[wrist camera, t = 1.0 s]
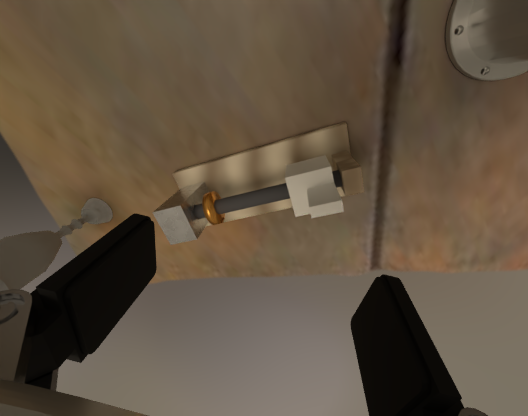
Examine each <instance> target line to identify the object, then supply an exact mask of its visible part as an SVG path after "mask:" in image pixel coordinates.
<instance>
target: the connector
mask: <svg viewBox="0 0 528 416" xmlns="http://www.w3.org/2000/svg"><path fill="white" fill-rule="evenodd" d="M218 199H221V197H220V195H219V194H218V193H217V192H215V191H212V192H209V191H208V188H207V186H206V184H205V181H204V182H201V183H197V184H193V185H190V186H186V187H182V188H181V189H180V190H179V191H177V192H176V193H175V194H174V195H173V196H171V197H170V198H169V199H168V200H167V201H165V202H164V203H163V204H162V205H161V206H160V207H158V208H157V209H156V210H155V211H154V212H153V214H154V216H155V218H156V219H157V221H158V223H159V225H160V226H161V228H162V230H163V232H164V234H165V235H166V237H167V239H168V241H169V242H170V244H171V245H172V244H176V243H181V242H186V241H191V240H196V239H198V237H199V236H200V234H201V233H202V231H203V230H204V228H205V227H206V225H207V224H208V222H209V223H210V224H212V225H216V224H220V223H223V221H224V219H225V213H224V214H217V213H216V211H215V208H214V201H215V200H218ZM197 204H202V206H203V211H204V214H205V217H206V218H202V219H198V218H196V216H195V214H194V206H195V205H197Z"/></svg>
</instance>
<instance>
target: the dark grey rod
mask: <svg viewBox="0 0 528 416" xmlns="http://www.w3.org/2000/svg"><path fill="white" fill-rule="evenodd" d="M332 174H333V179H334V184H335V186H336V188H338V187H342V179H341V174H340V171H339V170H336V171H332ZM289 198H290V195H289V191H288V188H287V184H286V183H283V184H279V185H275V186H271V187H267V188H263V189H259V190H254V191H250V192H246V193H242V194H238V195H234V196H230V197H226V198H222V199H218V200H215V201H214V208H215V211H216V213H217V214H224V213H228V212H233V211H237V210H241V209H246V208H250V207H254V206H259V205H263V204H268V203H272V202H276V201H281V200H285V199H289ZM194 214H195V216H196V218H198V219H202V218H206V217H205V214H204V211H203V206H202V204H197V205H195V206H194Z"/></svg>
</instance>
